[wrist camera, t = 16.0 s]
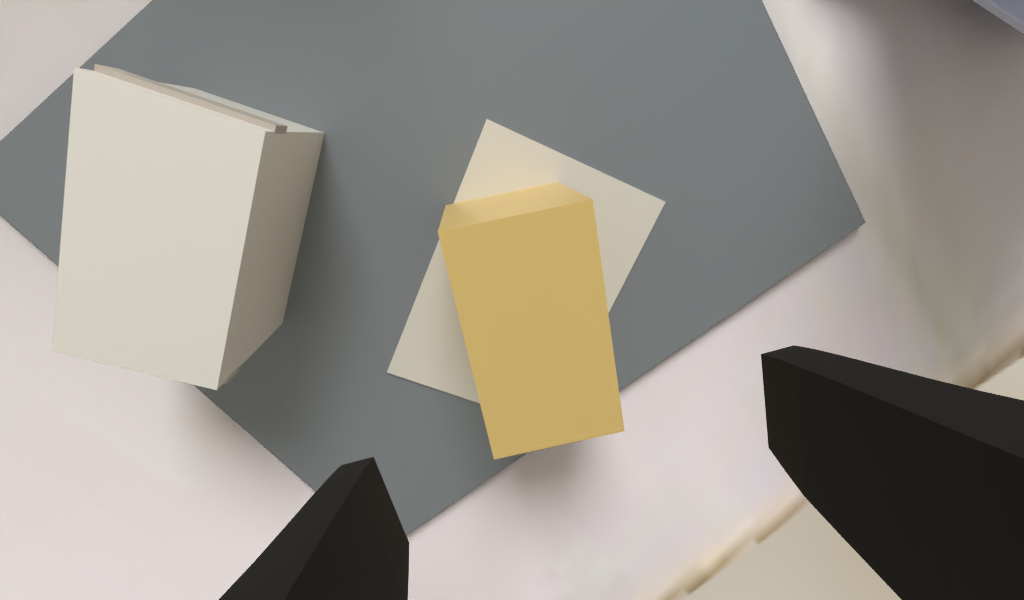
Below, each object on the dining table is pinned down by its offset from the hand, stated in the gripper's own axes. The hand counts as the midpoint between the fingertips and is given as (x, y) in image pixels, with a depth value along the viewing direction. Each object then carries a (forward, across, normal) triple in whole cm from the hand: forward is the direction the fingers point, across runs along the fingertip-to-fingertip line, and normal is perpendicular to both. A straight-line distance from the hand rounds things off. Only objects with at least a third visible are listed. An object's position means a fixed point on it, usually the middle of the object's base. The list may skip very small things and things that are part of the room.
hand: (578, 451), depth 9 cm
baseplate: (+10, +2, -4) cm, 11 cm away
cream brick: (+10, +9, -5) cm, 14 cm away
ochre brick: (+10, 0, 0) cm, 10 cm away
